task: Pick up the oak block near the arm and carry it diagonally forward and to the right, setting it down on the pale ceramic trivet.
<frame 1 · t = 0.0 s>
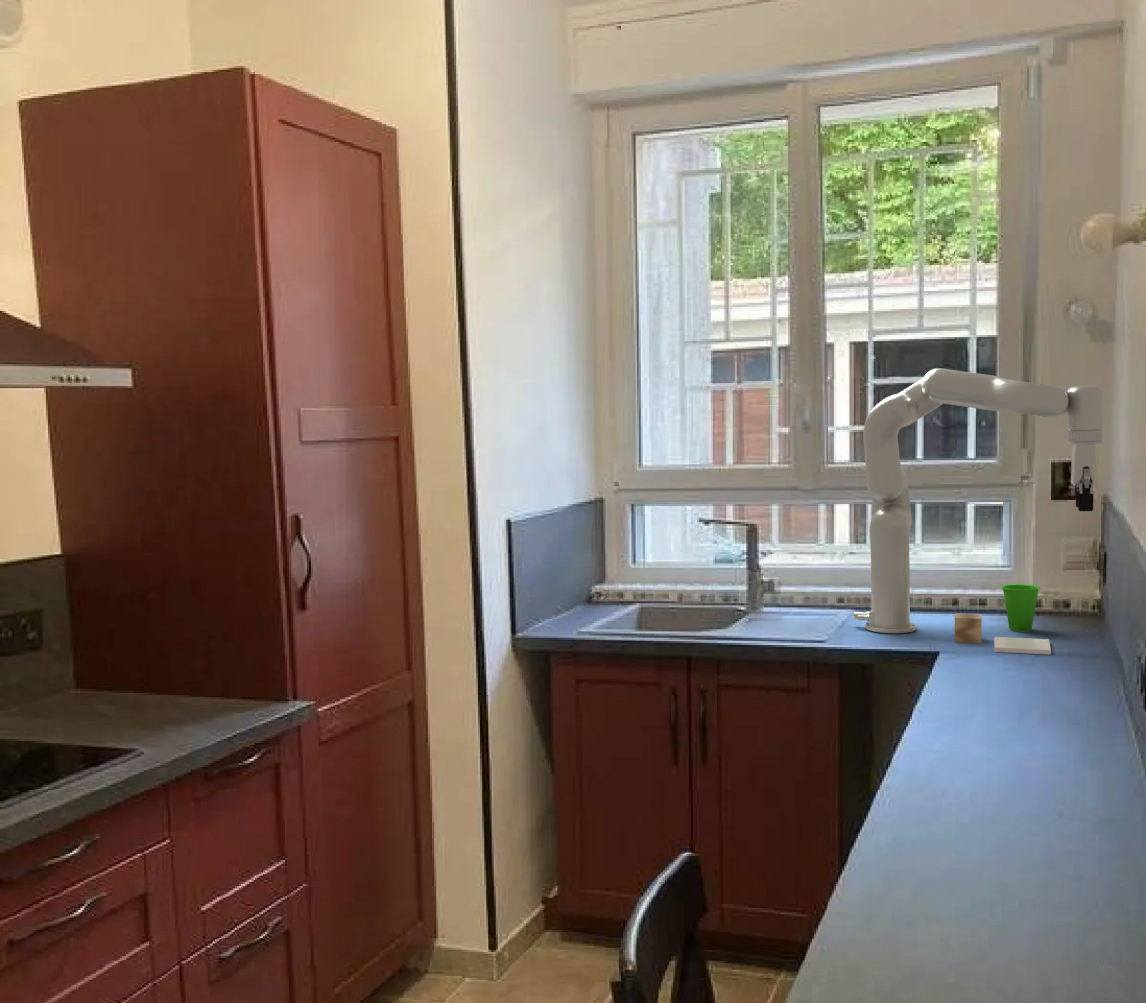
hand: (1084, 509, 265), 31 cm above the worktop, fingers open, 9 cm apart
trivet: (1021, 647, 259), on the worktop
block: (968, 640, 269), on the worktop
cup: (1020, 630, 278), on the worktop
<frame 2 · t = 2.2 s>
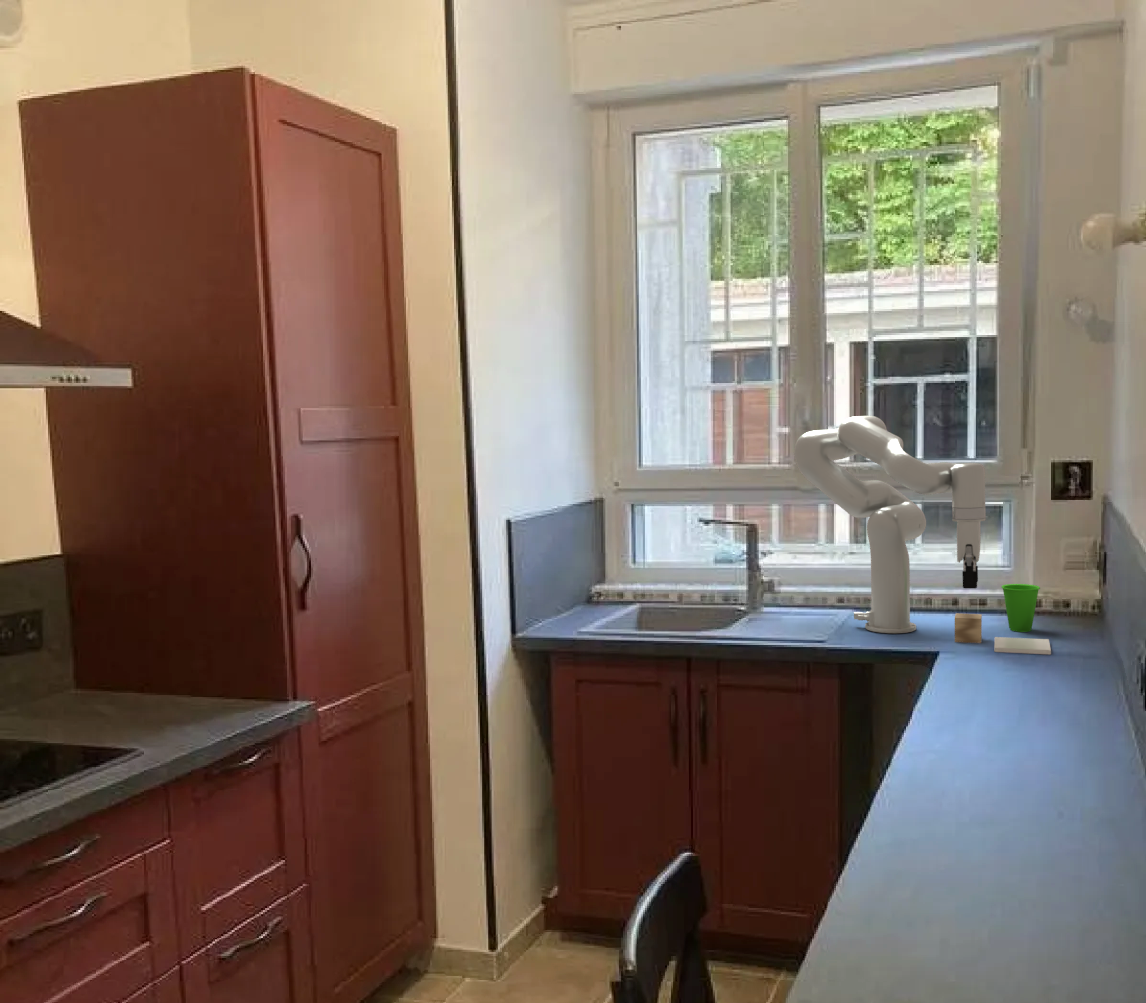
hand: (970, 585, 267), 14 cm above the worktop, fingers open, 9 cm apart
nothing on the worktop moved.
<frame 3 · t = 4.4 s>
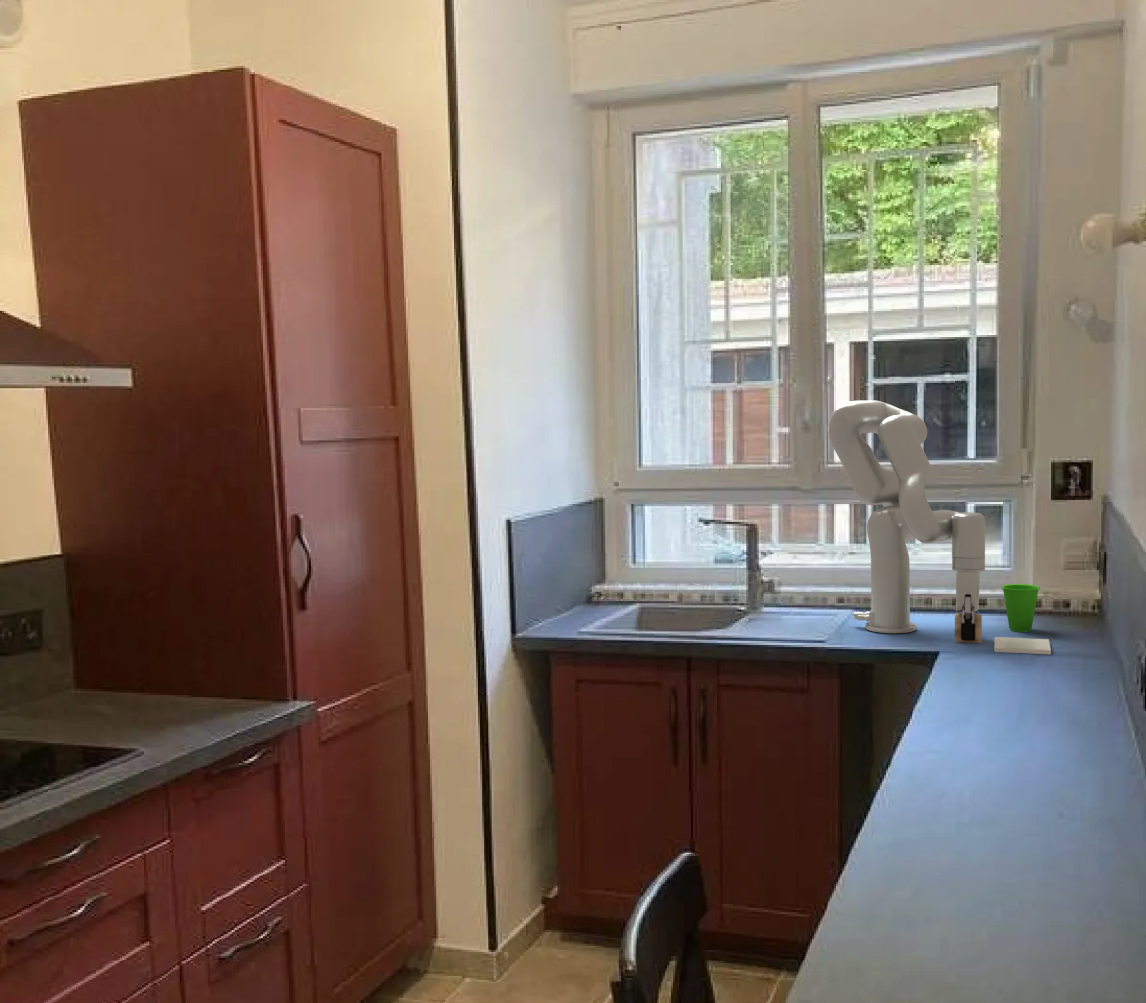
hand: (968, 636, 269), 1 cm above the worktop, fingers closed on block, 6 cm apart
block: (968, 640, 269), on the worktop, touching gripper
everything else where it was.
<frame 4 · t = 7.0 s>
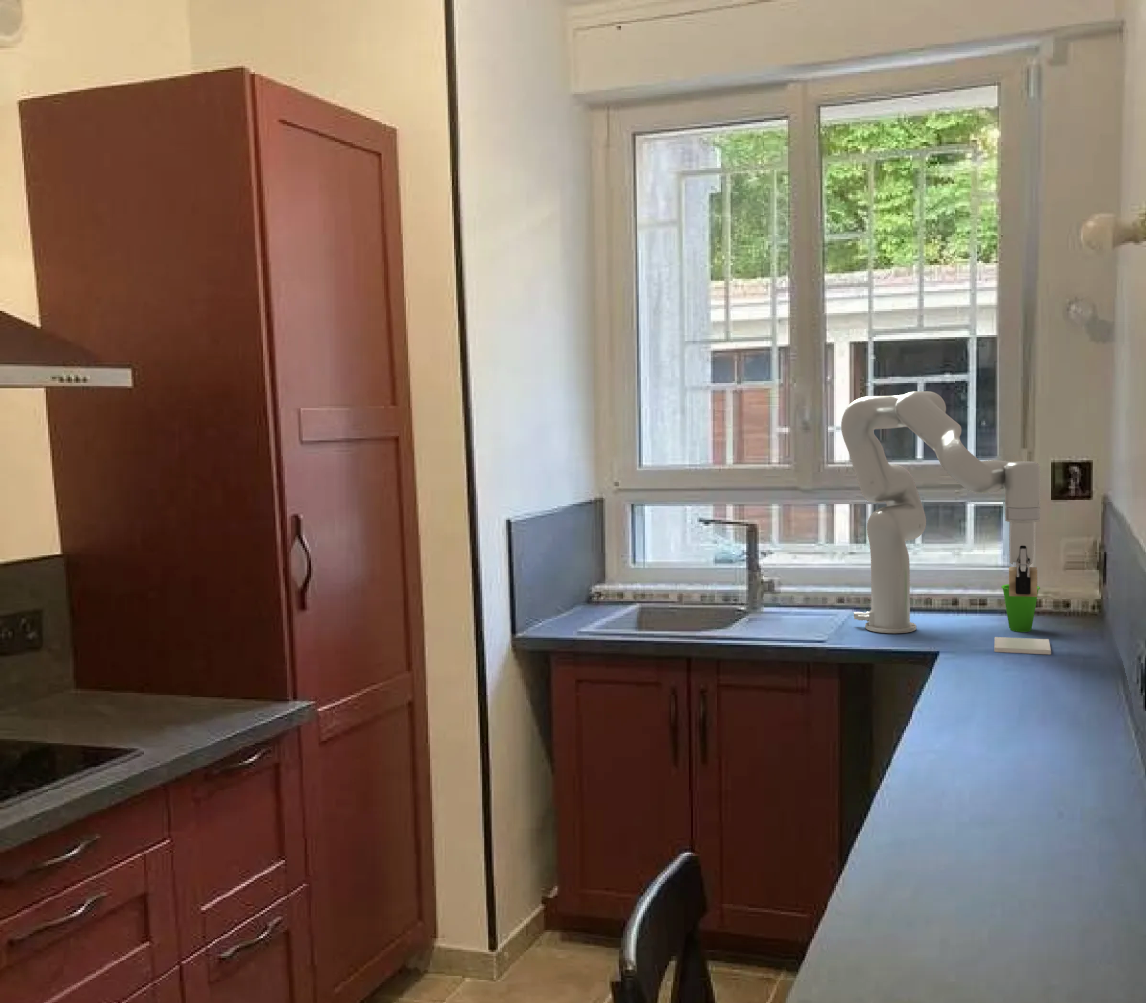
hand: (1022, 590, 258), 13 cm above the worktop, fingers closed on block, 6 cm apart
block: (1023, 594, 258), point 13 cm above the worktop, touching gripper
everything else where it was.
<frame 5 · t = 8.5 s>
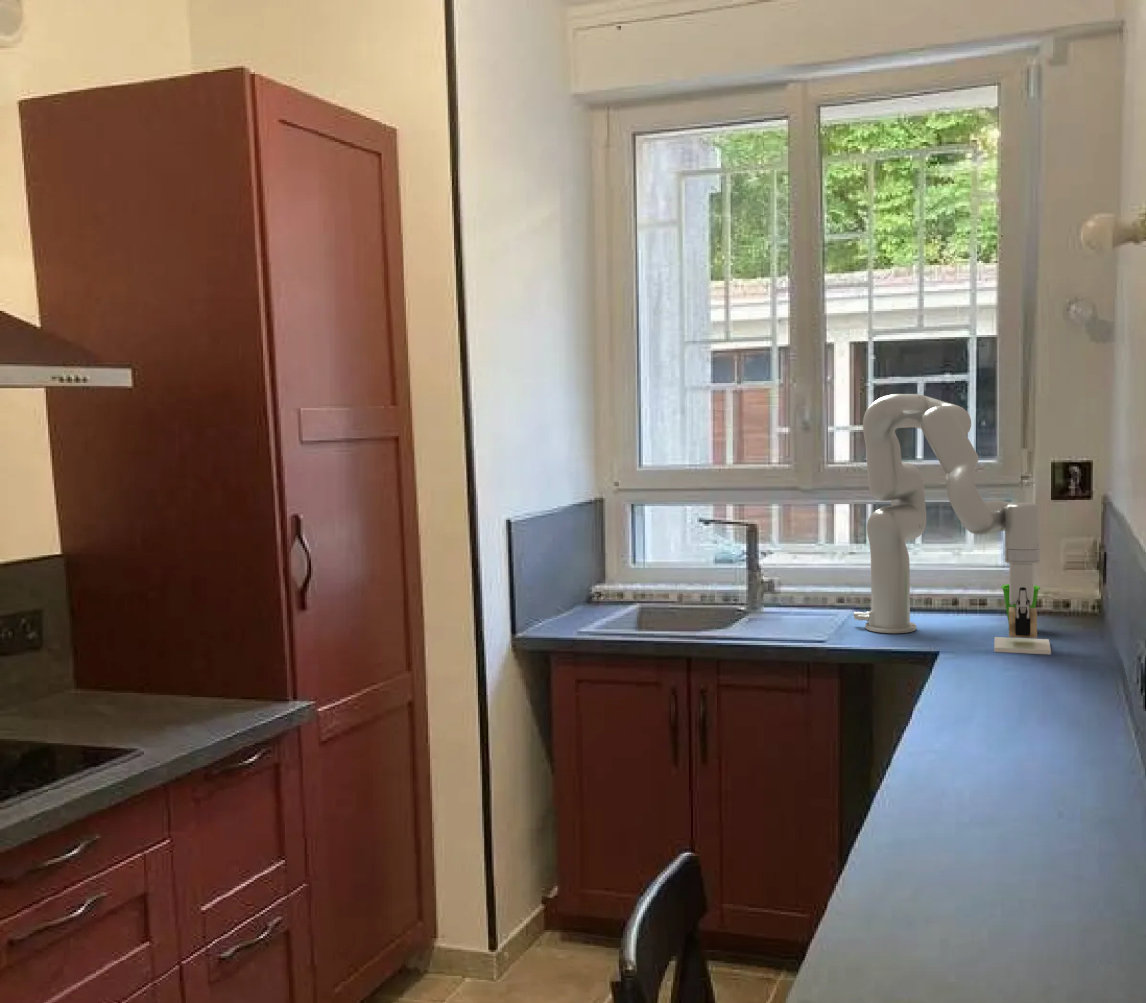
hand: (1022, 631, 259), 4 cm above the worktop, fingers closed on block, 6 cm apart
block: (1022, 635, 259), point 3 cm above the worktop, touching gripper
everything else where it was.
when the fingers open (3 cm above the worktop, at t = 9.6 s): block drops 1 cm, resting on trivet.
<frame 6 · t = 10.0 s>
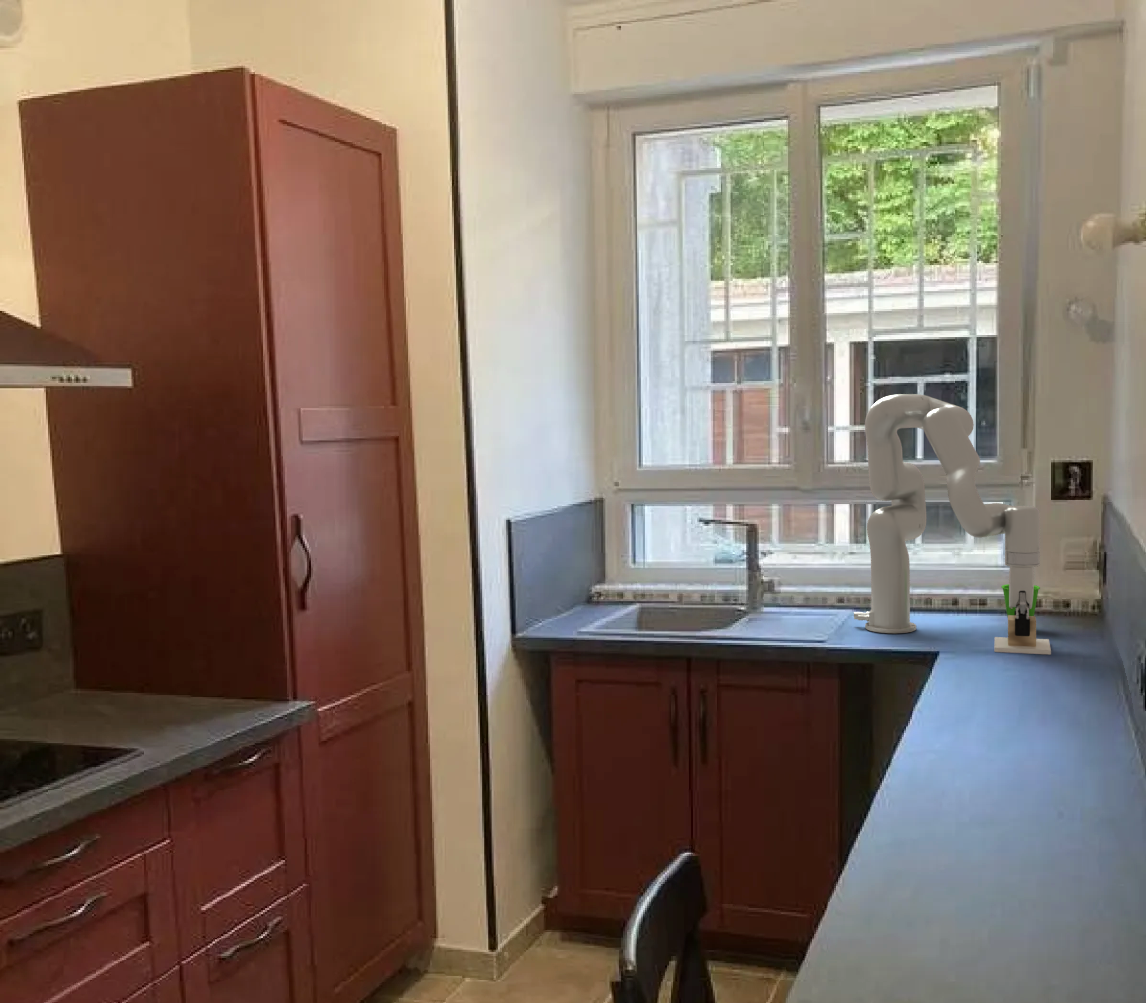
hand: (1021, 631, 259), 4 cm above the worktop, fingers open, 9 cm apart
block: (1021, 643, 259), point 1 cm above the worktop, touching trivet
everything else where it was.
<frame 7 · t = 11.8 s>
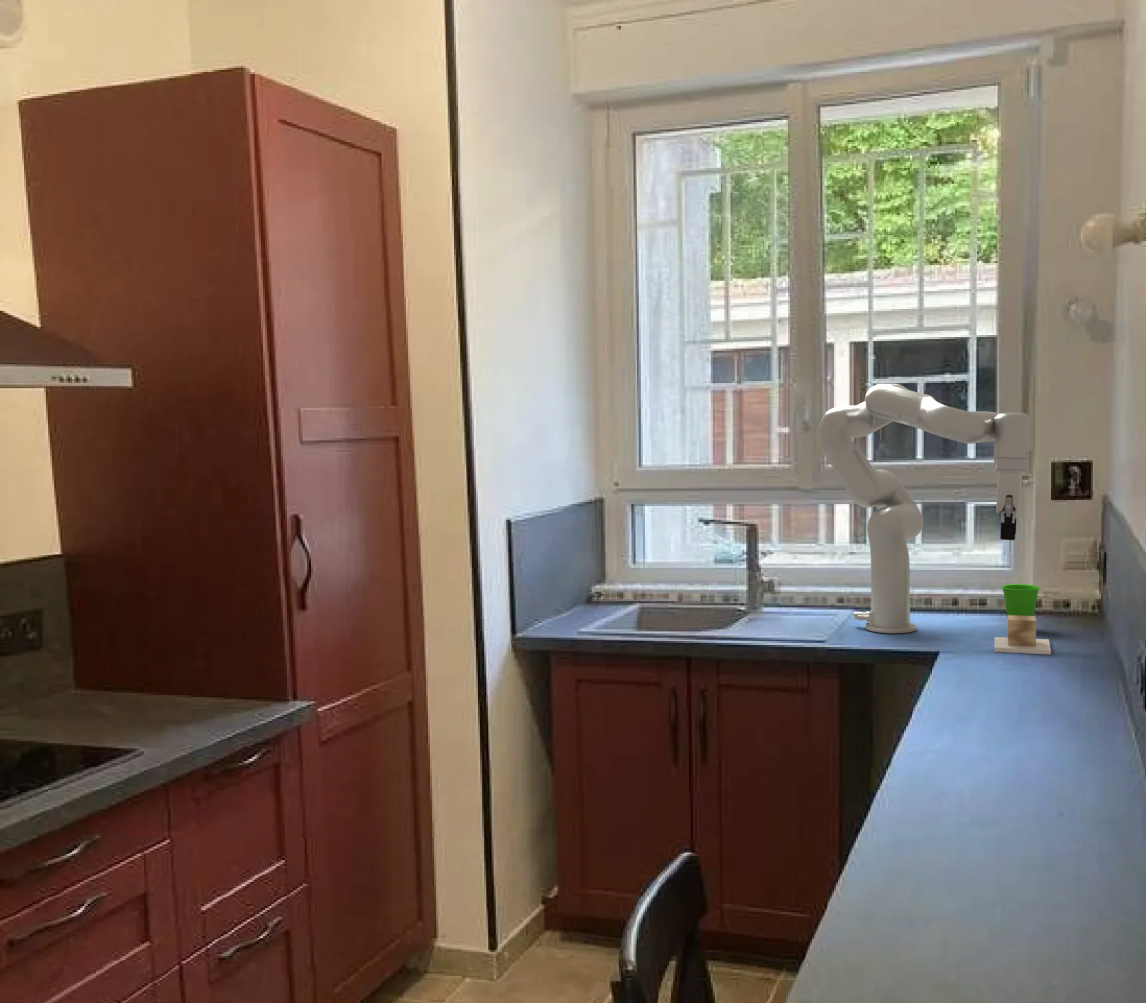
hand: (1008, 537, 262), 25 cm above the worktop, fingers open, 9 cm apart
nothing on the worktop moved.
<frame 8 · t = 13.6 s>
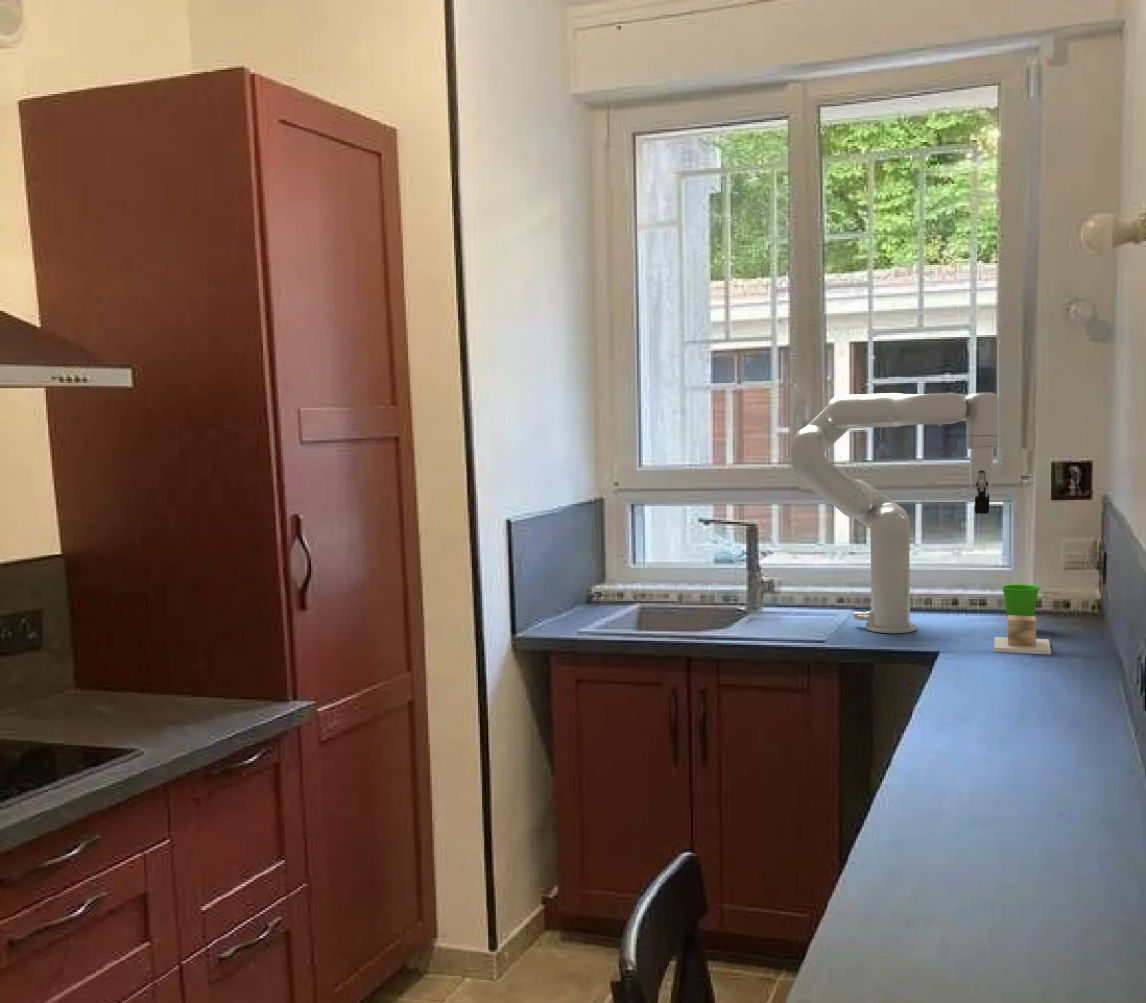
hand: (982, 511, 275), 30 cm above the worktop, fingers open, 9 cm apart
nothing on the worktop moved.
at the end: block inside the target area on the trivet (0.0 cm from its centre), point 1.0 cm above the trivet's base; block tilted 0°; the gripper is holding nothing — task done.
